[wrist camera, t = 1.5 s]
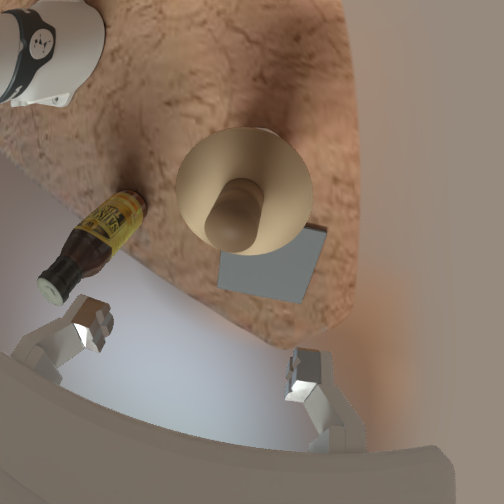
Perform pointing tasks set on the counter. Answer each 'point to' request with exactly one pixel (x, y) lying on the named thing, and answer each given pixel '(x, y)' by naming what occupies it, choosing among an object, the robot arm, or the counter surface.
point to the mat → (274, 268)
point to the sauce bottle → (92, 244)
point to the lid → (244, 191)
